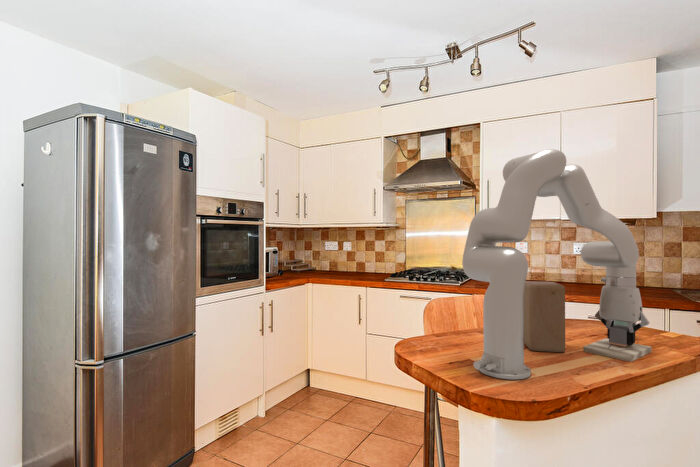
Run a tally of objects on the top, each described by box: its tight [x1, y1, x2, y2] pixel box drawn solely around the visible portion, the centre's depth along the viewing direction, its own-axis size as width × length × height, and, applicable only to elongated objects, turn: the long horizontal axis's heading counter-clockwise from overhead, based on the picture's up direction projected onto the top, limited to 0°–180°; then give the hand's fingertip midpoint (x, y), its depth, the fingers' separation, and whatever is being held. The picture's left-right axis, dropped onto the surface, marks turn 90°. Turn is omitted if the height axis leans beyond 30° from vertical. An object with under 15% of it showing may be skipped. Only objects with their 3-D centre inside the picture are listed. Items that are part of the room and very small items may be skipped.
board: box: [582, 337, 653, 363], centre depth 114 cm, size 16×12×2 cm
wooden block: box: [524, 280, 566, 353], centre depth 118 cm, size 10×10×20 cm
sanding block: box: [609, 325, 629, 347], centre depth 116 cm, size 6×4×5 cm, turn 126°
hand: (621, 342), depth 116 cm, fingers closed on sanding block, 4 cm apart
